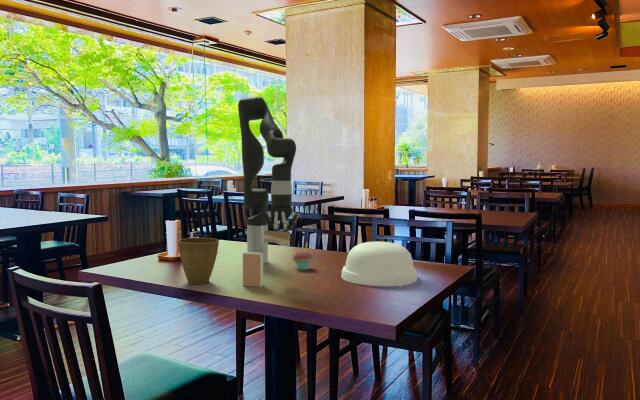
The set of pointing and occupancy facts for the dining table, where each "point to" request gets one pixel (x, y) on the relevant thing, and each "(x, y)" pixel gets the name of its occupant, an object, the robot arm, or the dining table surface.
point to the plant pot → (198, 258)
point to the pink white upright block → (252, 269)
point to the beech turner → (277, 237)
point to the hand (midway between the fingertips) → (281, 239)
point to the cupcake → (303, 259)
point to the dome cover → (379, 265)
